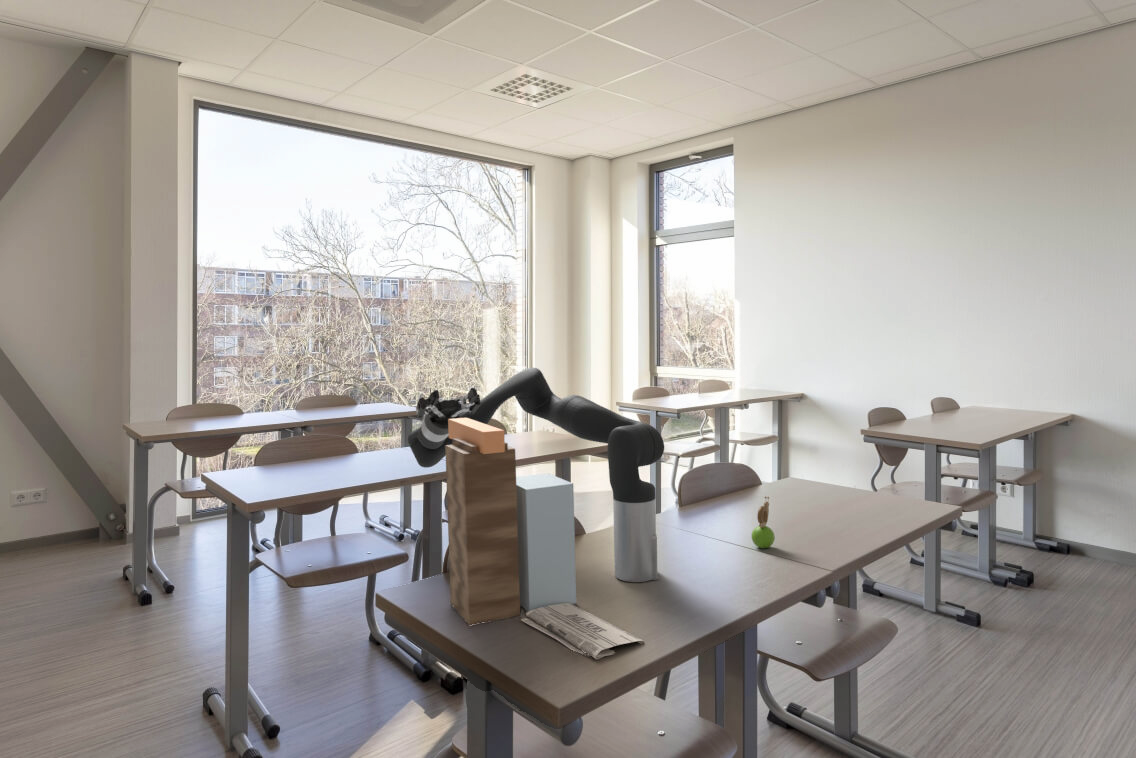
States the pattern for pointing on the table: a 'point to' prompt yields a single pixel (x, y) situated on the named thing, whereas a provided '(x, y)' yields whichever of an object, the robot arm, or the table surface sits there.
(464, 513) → the tall post
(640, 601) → the table surface
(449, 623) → the table surface
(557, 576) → the short post
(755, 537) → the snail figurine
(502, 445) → the beam
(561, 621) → the newspaper
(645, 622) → the table surface
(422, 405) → the robot arm
